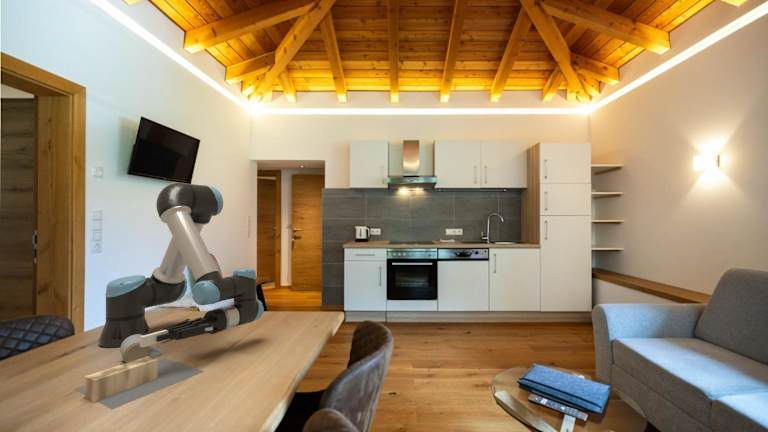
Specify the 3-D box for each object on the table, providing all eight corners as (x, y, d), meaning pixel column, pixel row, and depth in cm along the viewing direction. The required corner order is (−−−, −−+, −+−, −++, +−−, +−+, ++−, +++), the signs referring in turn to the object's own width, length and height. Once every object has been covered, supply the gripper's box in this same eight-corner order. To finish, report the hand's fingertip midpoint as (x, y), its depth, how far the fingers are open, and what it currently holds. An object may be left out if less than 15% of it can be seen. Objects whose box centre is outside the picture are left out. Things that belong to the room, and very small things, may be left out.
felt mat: (74, 392, 84) (74, 388, 84) (165, 361, 104) (165, 358, 104) (112, 413, 75) (112, 409, 75) (204, 374, 94) (204, 371, 94)
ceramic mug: (122, 369, 98) (123, 343, 99) (119, 361, 104) (120, 336, 105) (164, 359, 106) (165, 335, 106) (159, 352, 112) (160, 329, 112)
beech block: (147, 374, 93) (84, 397, 80) (148, 356, 93) (84, 376, 80) (157, 377, 90) (93, 402, 78) (157, 359, 90) (94, 380, 78)
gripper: (233, 333, 106) (154, 360, 86) (208, 328, 113) (128, 351, 92) (233, 310, 107) (154, 331, 86) (208, 306, 113) (128, 324, 92)
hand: (141, 341), depth 89 cm, fingers closed
